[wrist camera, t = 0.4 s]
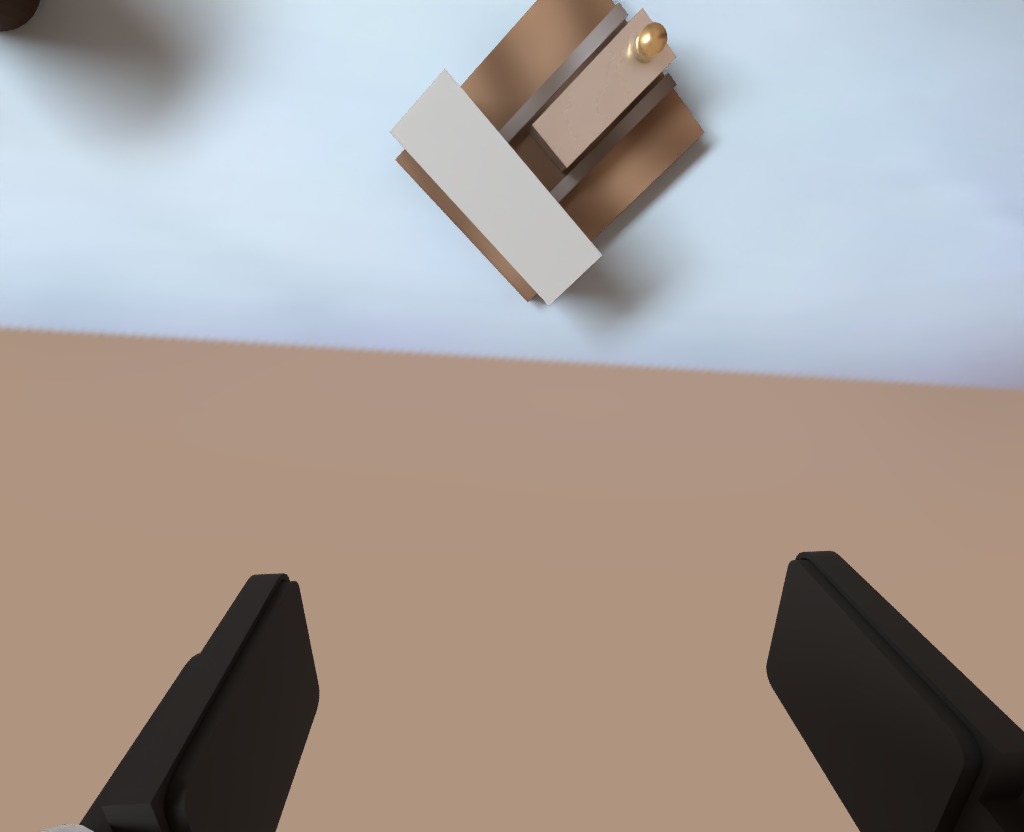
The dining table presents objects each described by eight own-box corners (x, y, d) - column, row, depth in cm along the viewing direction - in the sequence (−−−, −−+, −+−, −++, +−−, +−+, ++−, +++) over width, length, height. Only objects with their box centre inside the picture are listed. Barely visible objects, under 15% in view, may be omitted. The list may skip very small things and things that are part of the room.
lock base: (574, -35, 30) (580, -53, 28) (695, 135, 33) (708, 130, 31) (398, 162, 33) (393, 158, 31) (525, 299, 37) (528, 303, 35)
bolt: (630, 23, 30) (650, -4, 26) (662, 68, 30) (686, 48, 27) (528, 131, 31) (534, 120, 28) (561, 171, 32) (570, 165, 29)
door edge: (452, 95, 31) (444, 68, 25) (582, 249, 34) (602, 255, 29) (406, 147, 32) (389, 132, 26) (538, 291, 35) (548, 305, 29)
